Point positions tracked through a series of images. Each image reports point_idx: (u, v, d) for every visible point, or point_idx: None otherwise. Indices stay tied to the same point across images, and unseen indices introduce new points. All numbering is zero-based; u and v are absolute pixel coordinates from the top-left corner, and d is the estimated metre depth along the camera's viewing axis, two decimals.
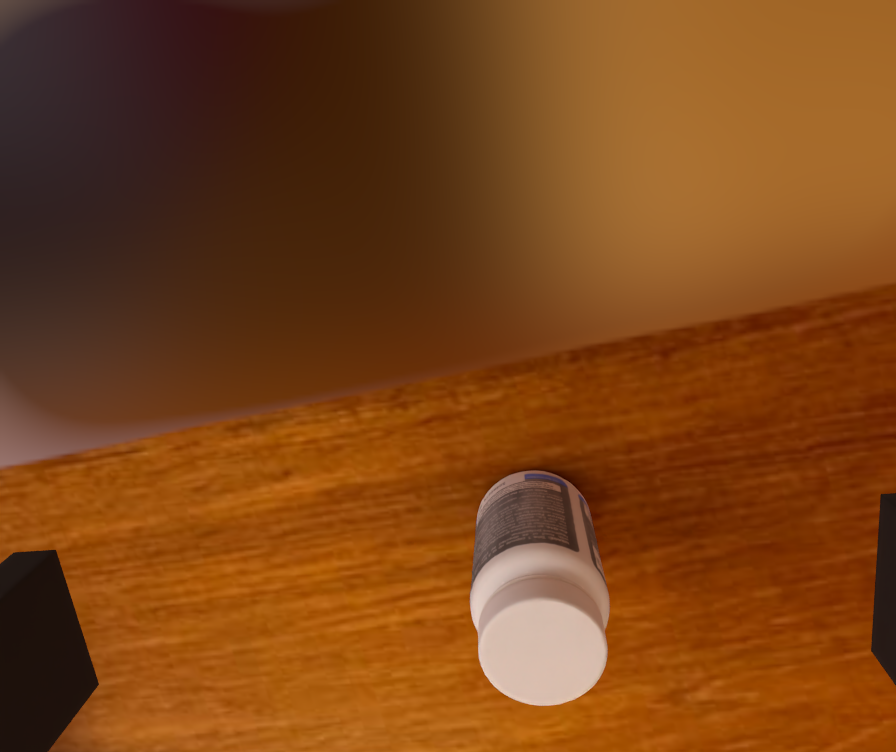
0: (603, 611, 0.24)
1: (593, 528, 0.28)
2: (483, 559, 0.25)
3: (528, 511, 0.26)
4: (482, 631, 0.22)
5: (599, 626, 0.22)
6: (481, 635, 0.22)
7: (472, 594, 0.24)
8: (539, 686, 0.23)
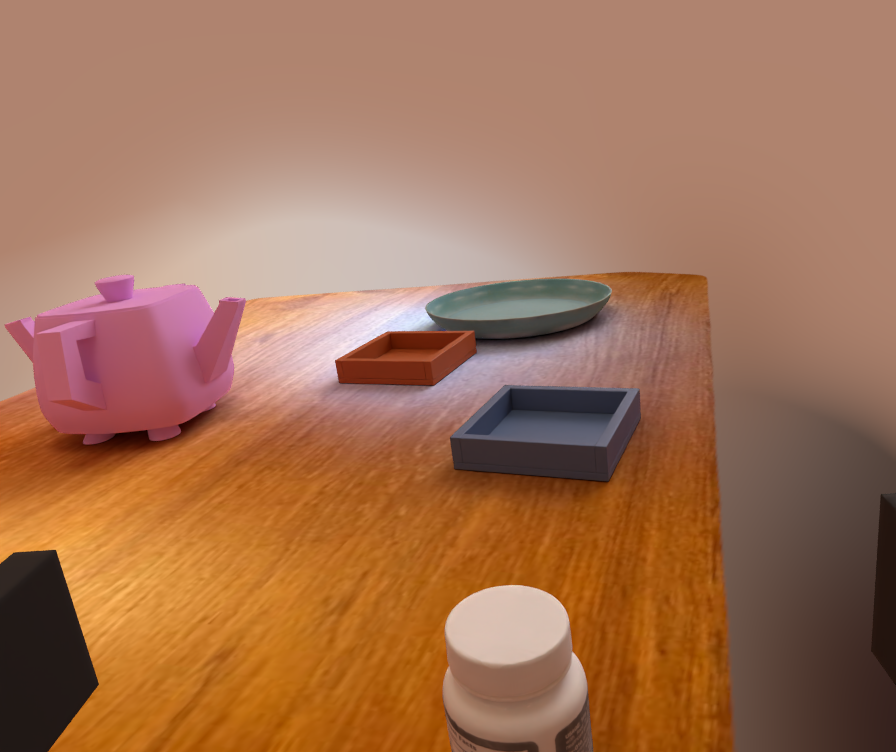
0: (489, 718, 0.22)
1: None
2: None
3: None
4: None
5: (511, 666, 0.21)
6: (546, 593, 0.24)
7: None
8: (474, 611, 0.24)
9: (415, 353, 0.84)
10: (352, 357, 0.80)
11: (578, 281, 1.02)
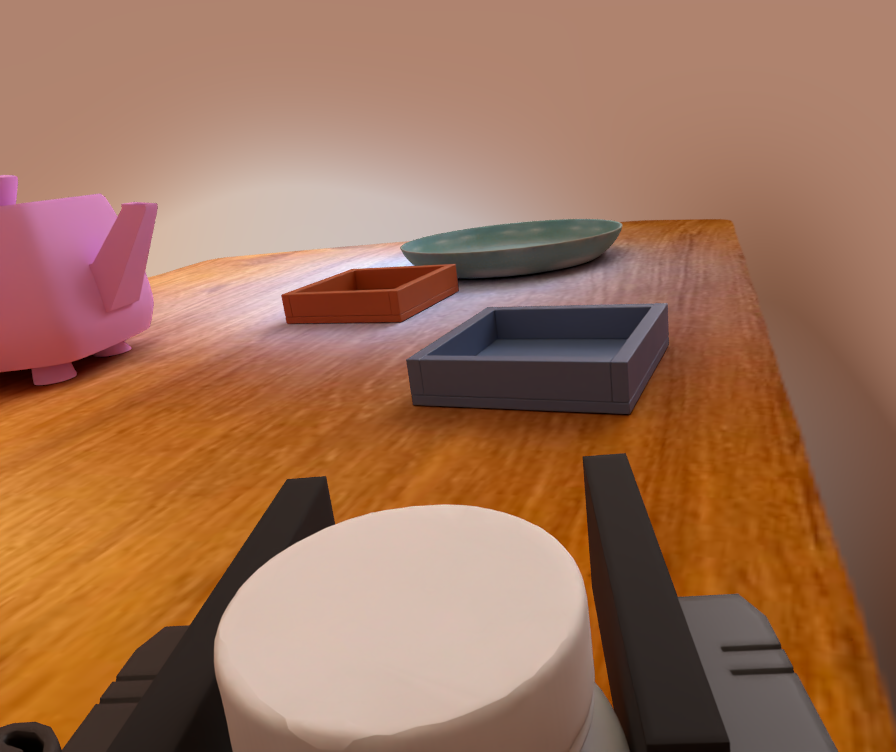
0: None
1: None
2: None
3: None
4: None
5: (386, 743, 0.06)
6: (521, 522, 0.09)
7: None
8: (320, 567, 0.08)
9: None
10: None
11: (582, 221, 0.86)
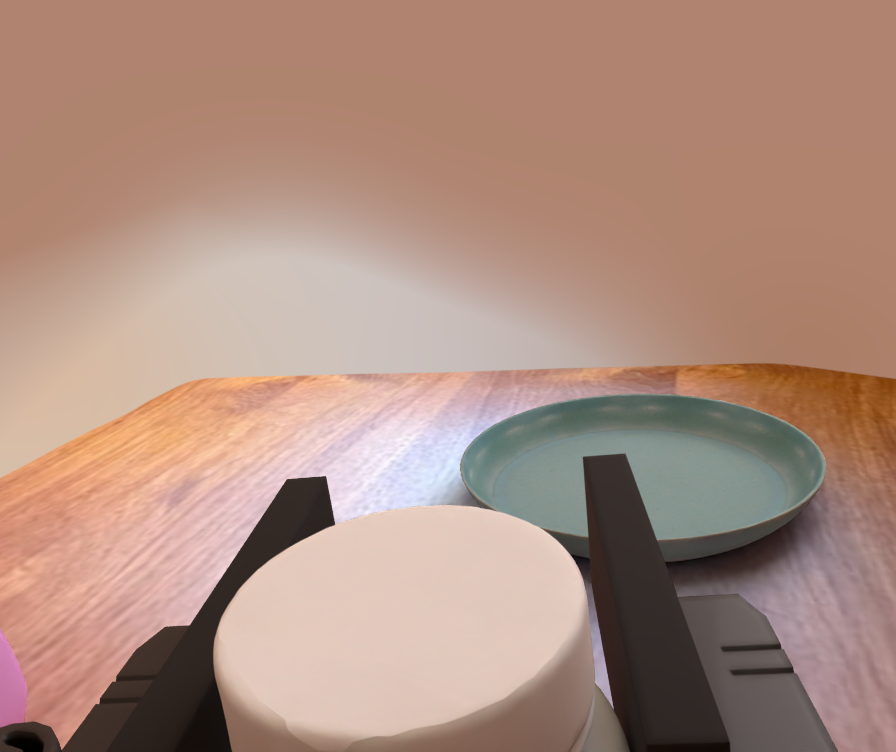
0: None
1: None
2: None
3: None
4: None
5: (386, 745, 0.06)
6: None
7: None
8: (320, 567, 0.08)
9: None
10: None
11: (728, 406, 0.57)
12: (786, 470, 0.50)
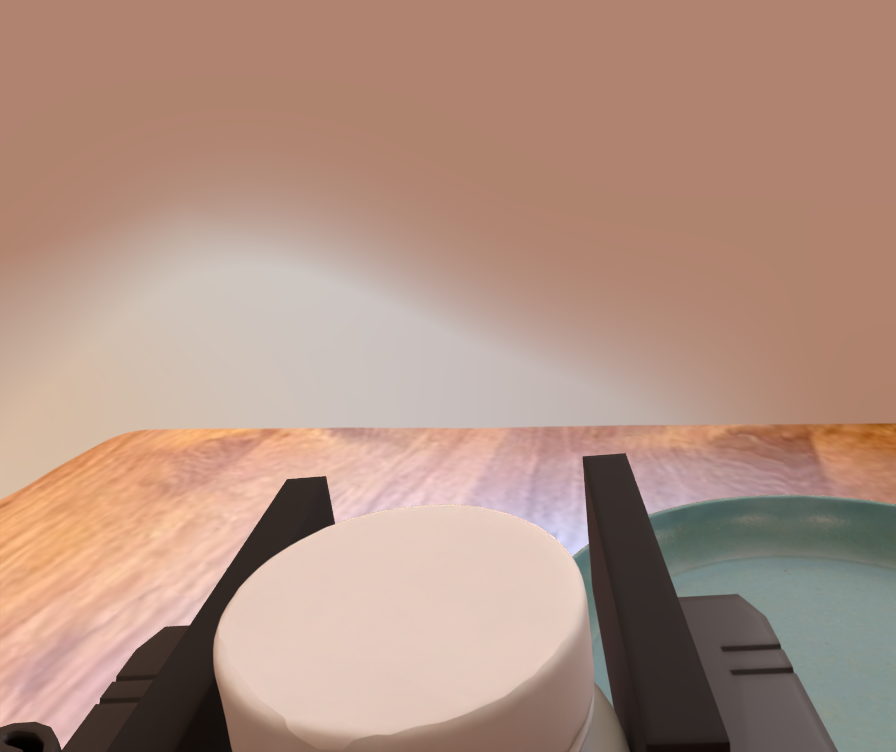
0: None
1: None
2: None
3: None
4: None
5: (386, 744, 0.06)
6: (522, 522, 0.09)
7: None
8: (320, 567, 0.08)
9: None
10: None
11: None
12: None
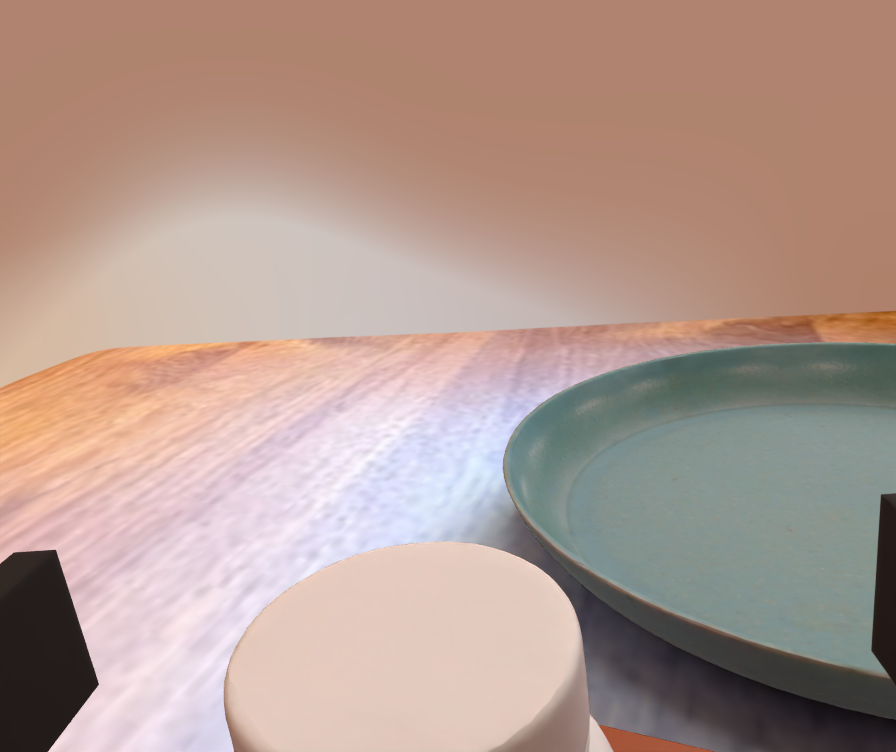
0: None
1: None
2: None
3: None
4: None
5: None
6: (520, 560, 0.09)
7: None
8: (324, 607, 0.09)
9: None
10: None
11: None
12: None
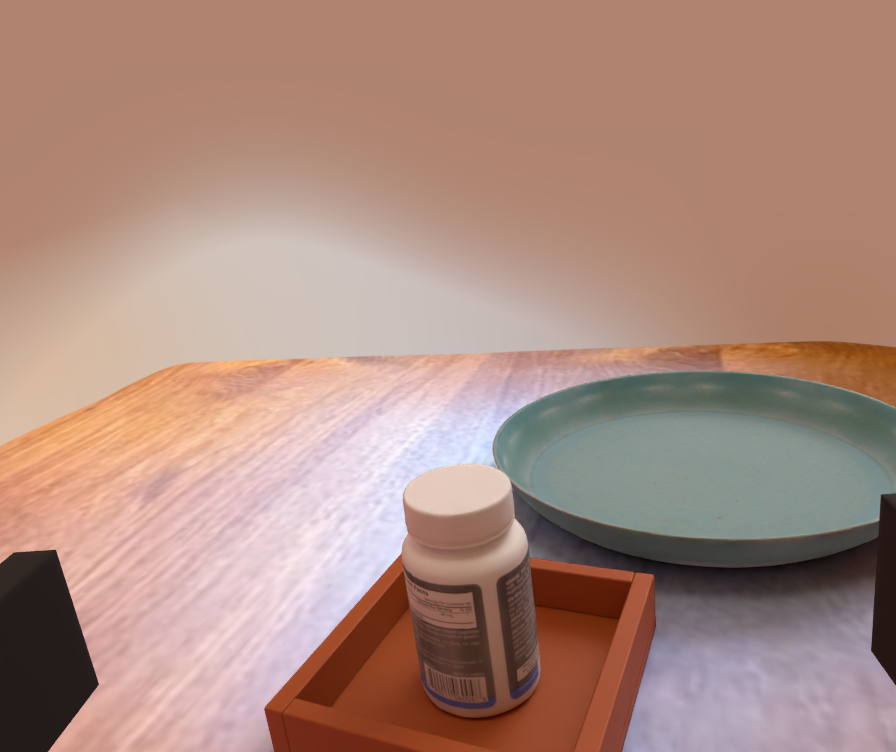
0: (439, 565, 0.25)
1: (464, 680, 0.26)
2: None
3: (530, 607, 0.27)
4: None
5: (457, 516, 0.24)
6: None
7: None
8: (429, 482, 0.27)
9: None
10: (319, 678, 0.27)
11: (800, 383, 0.49)
12: (884, 455, 0.42)
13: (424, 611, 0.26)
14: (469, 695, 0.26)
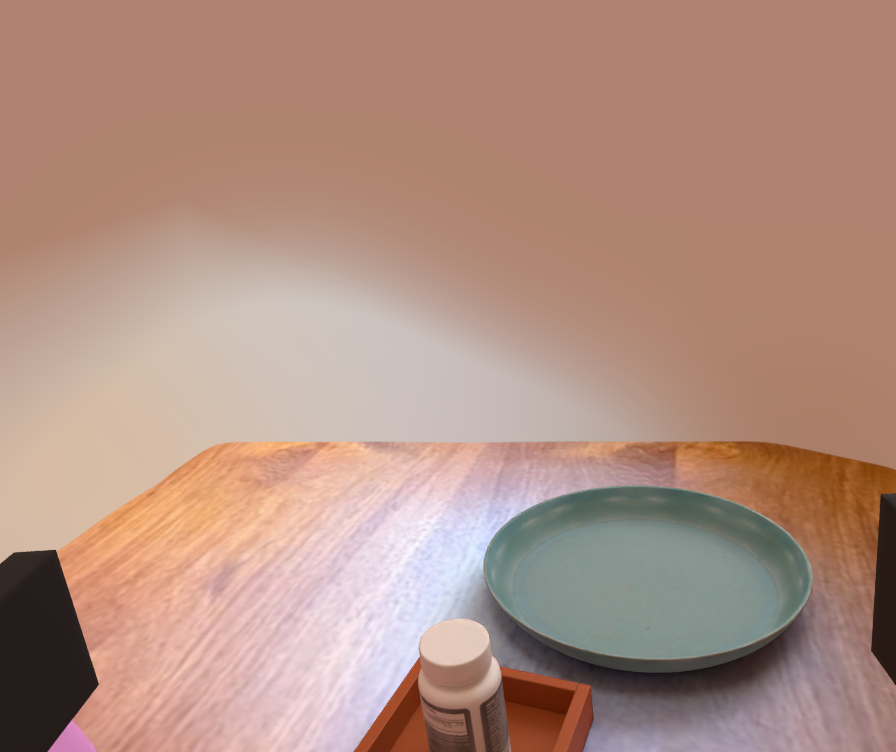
0: (442, 695, 0.39)
1: None
2: None
3: (503, 717, 0.41)
4: (480, 625, 0.41)
5: (454, 666, 0.38)
6: (478, 624, 0.41)
7: None
8: (436, 635, 0.41)
9: None
10: None
11: (724, 502, 0.63)
12: (777, 573, 0.56)
13: (433, 723, 0.40)
14: None
